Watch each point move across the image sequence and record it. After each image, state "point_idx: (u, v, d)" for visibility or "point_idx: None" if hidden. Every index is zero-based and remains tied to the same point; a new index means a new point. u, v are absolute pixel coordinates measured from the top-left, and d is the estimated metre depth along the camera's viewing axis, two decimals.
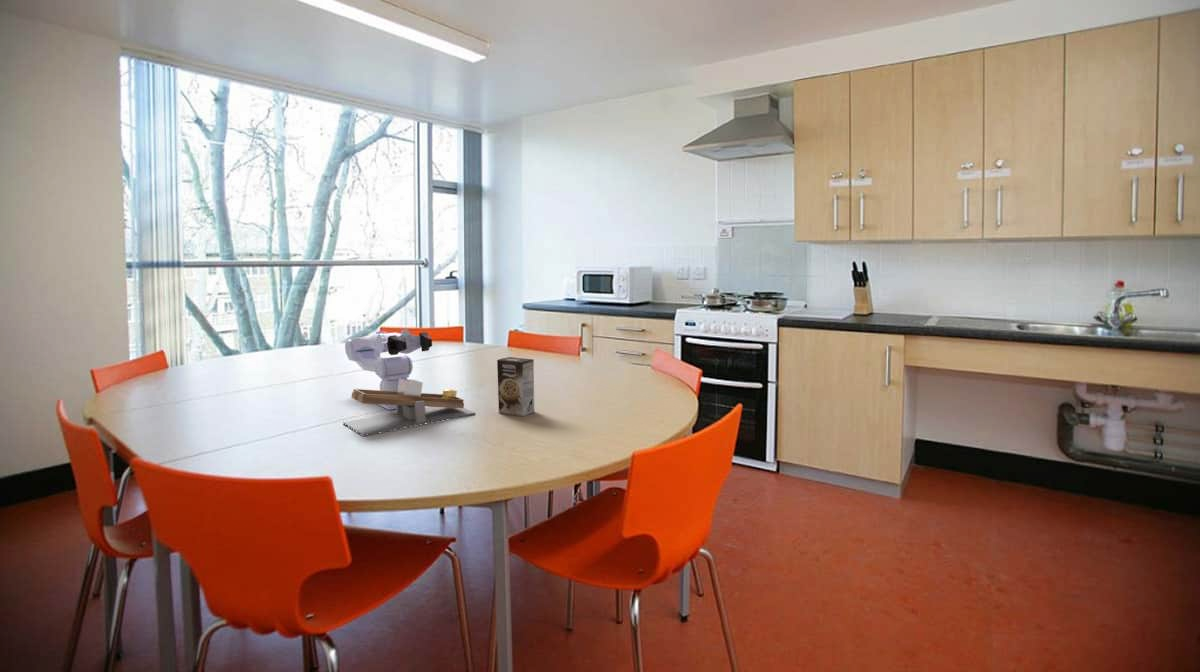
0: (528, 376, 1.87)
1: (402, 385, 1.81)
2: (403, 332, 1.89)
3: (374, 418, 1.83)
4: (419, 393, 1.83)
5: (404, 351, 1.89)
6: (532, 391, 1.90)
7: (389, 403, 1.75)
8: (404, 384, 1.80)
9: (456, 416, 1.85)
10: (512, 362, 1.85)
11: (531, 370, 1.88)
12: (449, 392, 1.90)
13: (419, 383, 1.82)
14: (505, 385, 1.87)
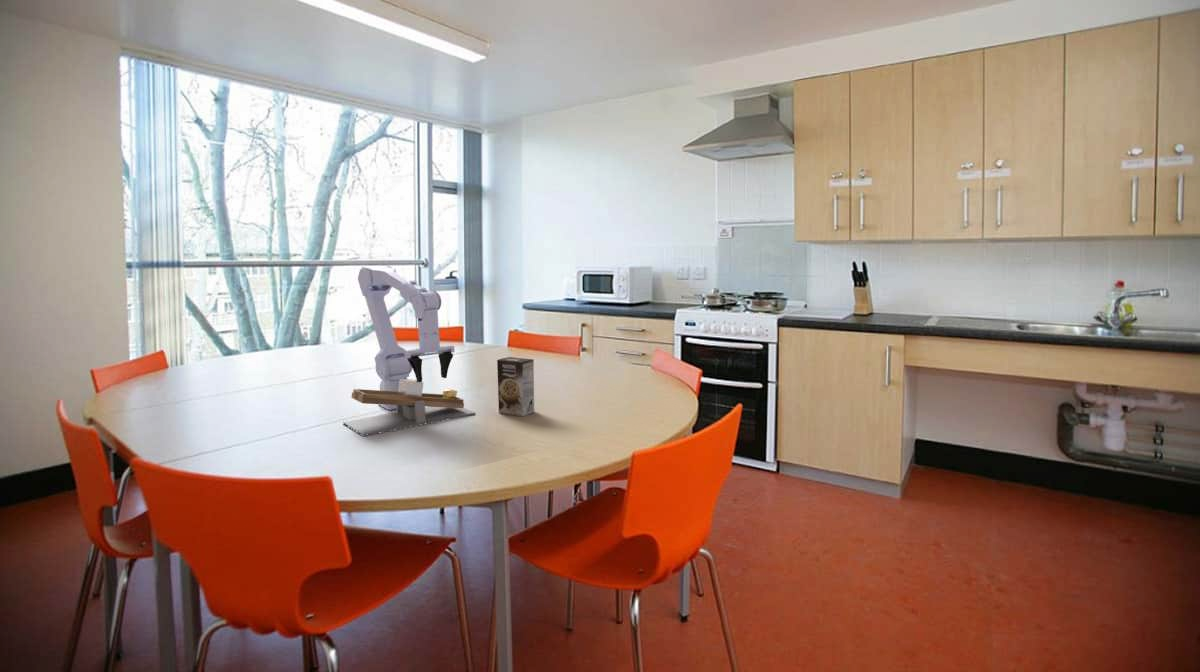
0: (528, 376, 1.87)
1: (403, 385, 1.82)
2: (433, 351, 1.83)
3: (374, 418, 1.83)
4: (420, 393, 1.83)
5: None
6: (532, 391, 1.90)
7: (389, 403, 1.75)
8: (405, 384, 1.81)
9: (456, 416, 1.85)
10: (512, 362, 1.85)
11: (531, 370, 1.88)
12: (449, 392, 1.90)
13: (420, 383, 1.83)
14: (505, 385, 1.87)
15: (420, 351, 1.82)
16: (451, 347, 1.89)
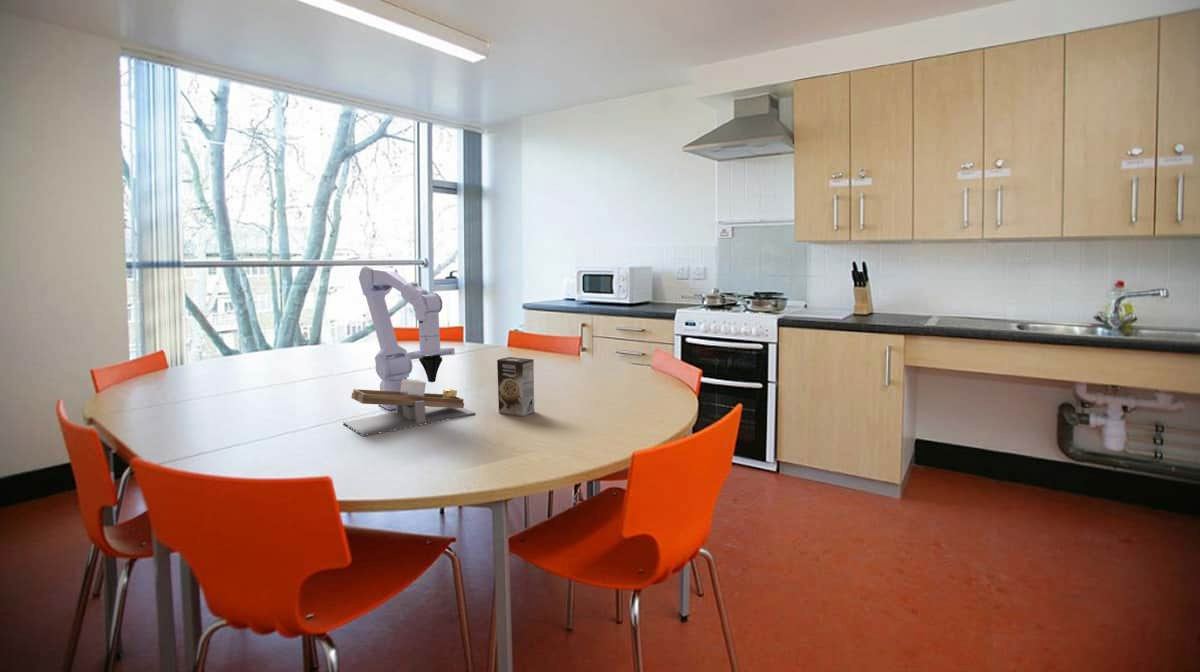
0: (528, 376, 1.87)
1: (406, 385, 1.82)
2: None
3: (374, 418, 1.83)
4: (422, 393, 1.84)
5: None
6: (532, 391, 1.90)
7: (389, 403, 1.75)
8: (408, 385, 1.81)
9: (456, 416, 1.85)
10: (512, 362, 1.85)
11: (531, 370, 1.88)
12: (449, 392, 1.90)
13: (422, 383, 1.84)
14: (505, 385, 1.87)
15: (420, 353, 1.83)
16: (451, 349, 1.89)
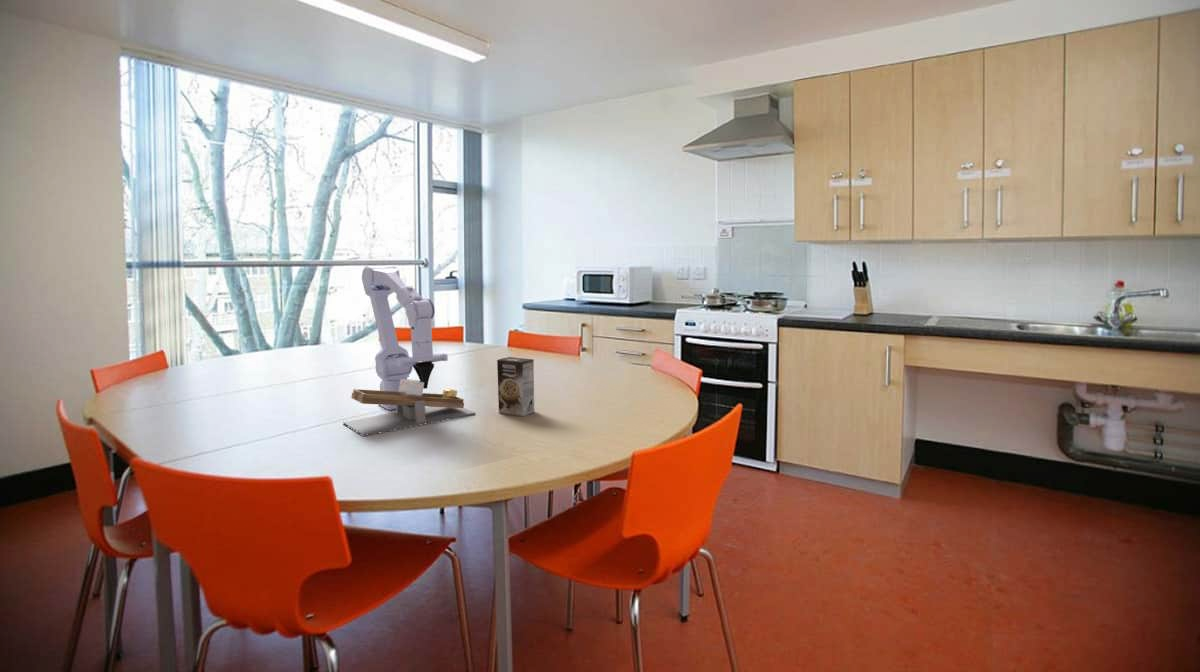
0: (528, 376, 1.87)
1: (404, 385, 1.82)
2: (425, 360, 1.82)
3: (374, 418, 1.83)
4: (420, 393, 1.83)
5: None
6: (532, 391, 1.90)
7: (389, 403, 1.75)
8: (406, 384, 1.81)
9: (456, 416, 1.85)
10: (512, 362, 1.85)
11: (531, 370, 1.88)
12: (449, 392, 1.90)
13: (420, 383, 1.83)
14: (505, 385, 1.87)
15: (413, 360, 1.81)
16: (444, 355, 1.88)
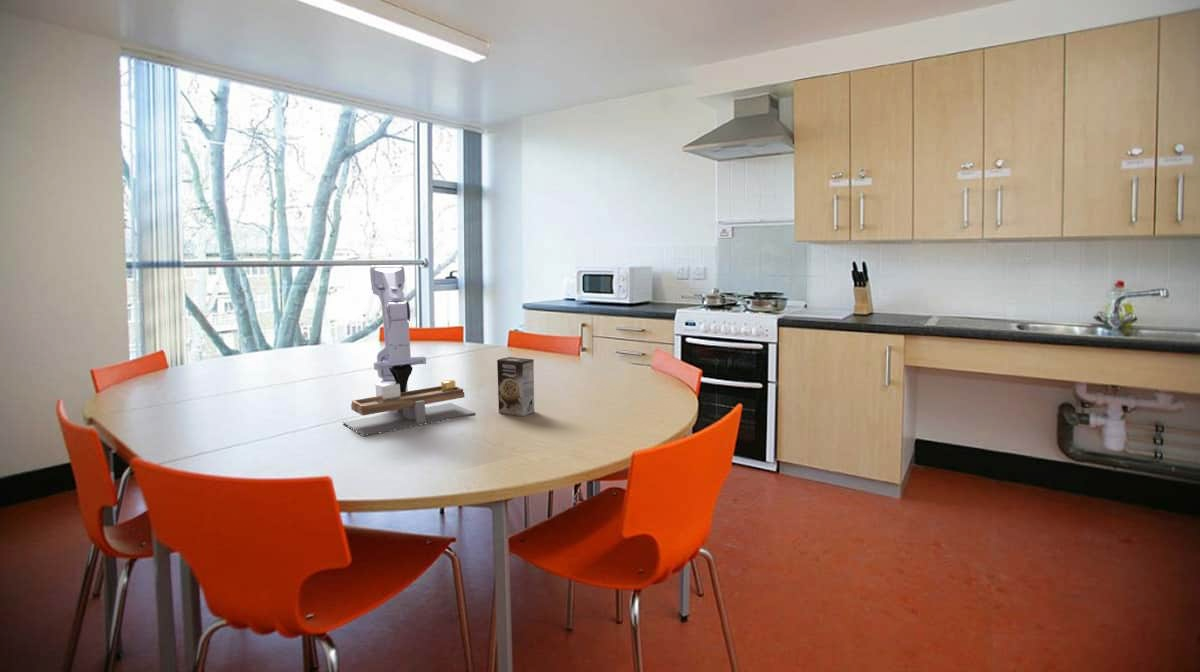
0: (528, 376, 1.87)
1: (380, 391, 1.78)
2: (403, 363, 1.78)
3: (374, 418, 1.83)
4: (398, 395, 1.79)
5: None
6: (532, 391, 1.90)
7: (389, 409, 1.76)
8: (381, 390, 1.77)
9: (456, 416, 1.85)
10: (512, 362, 1.85)
11: (531, 370, 1.88)
12: (447, 384, 1.89)
13: (396, 385, 1.79)
14: (505, 385, 1.87)
15: (390, 363, 1.77)
16: (423, 358, 1.84)
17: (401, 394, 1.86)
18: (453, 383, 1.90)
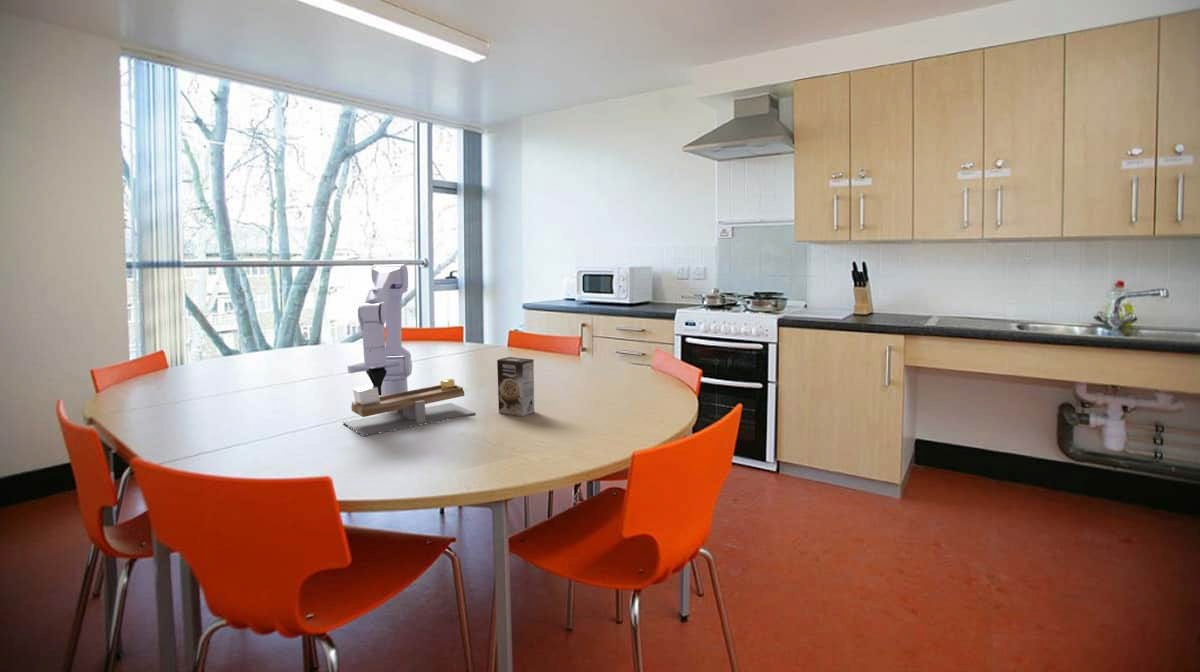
0: (528, 376, 1.87)
1: (358, 396, 1.74)
2: (378, 366, 1.74)
3: (374, 418, 1.83)
4: (377, 398, 1.76)
5: None
6: (532, 391, 1.90)
7: (389, 410, 1.76)
8: (359, 395, 1.73)
9: (456, 416, 1.85)
10: (512, 362, 1.85)
11: (531, 370, 1.88)
12: (446, 383, 1.89)
13: (374, 388, 1.75)
14: (505, 385, 1.87)
15: (364, 366, 1.73)
16: (399, 361, 1.80)
17: (401, 394, 1.86)
18: (452, 382, 1.90)
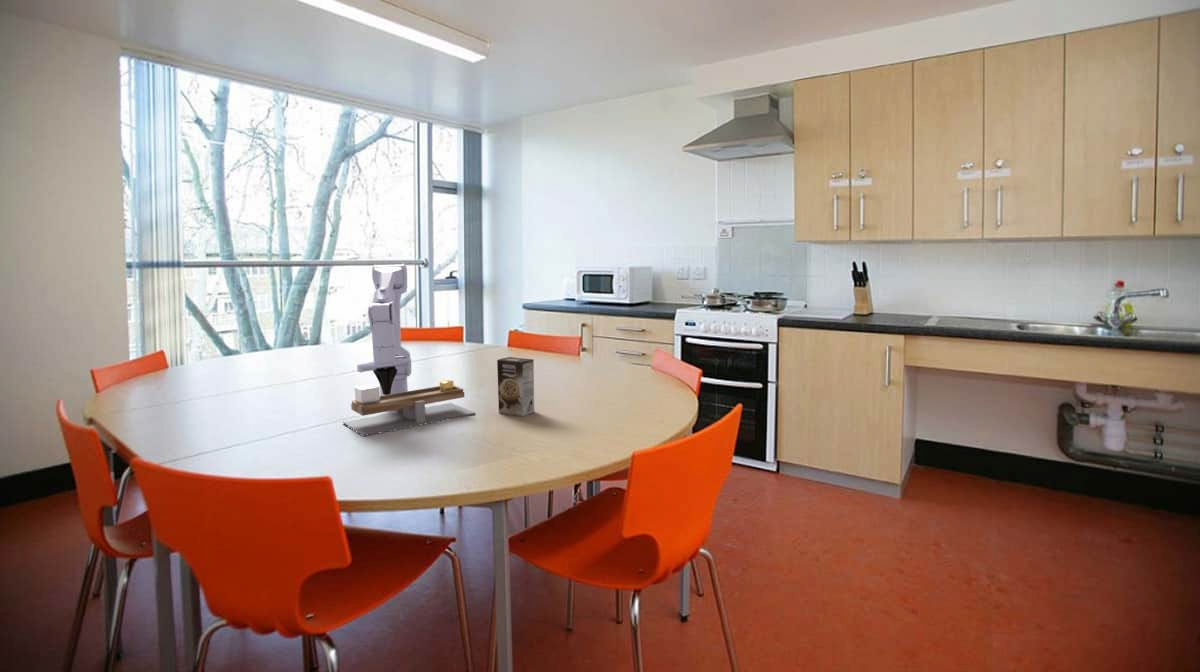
0: (528, 376, 1.87)
1: (359, 394, 1.74)
2: (387, 366, 1.75)
3: (374, 418, 1.83)
4: (378, 398, 1.76)
5: None
6: (532, 391, 1.90)
7: (389, 409, 1.76)
8: (360, 393, 1.73)
9: (456, 416, 1.85)
10: (512, 362, 1.85)
11: (531, 370, 1.88)
12: (446, 384, 1.88)
13: (375, 388, 1.75)
14: (505, 385, 1.87)
15: (373, 365, 1.74)
16: (408, 360, 1.81)
17: (401, 394, 1.86)
18: (451, 383, 1.89)
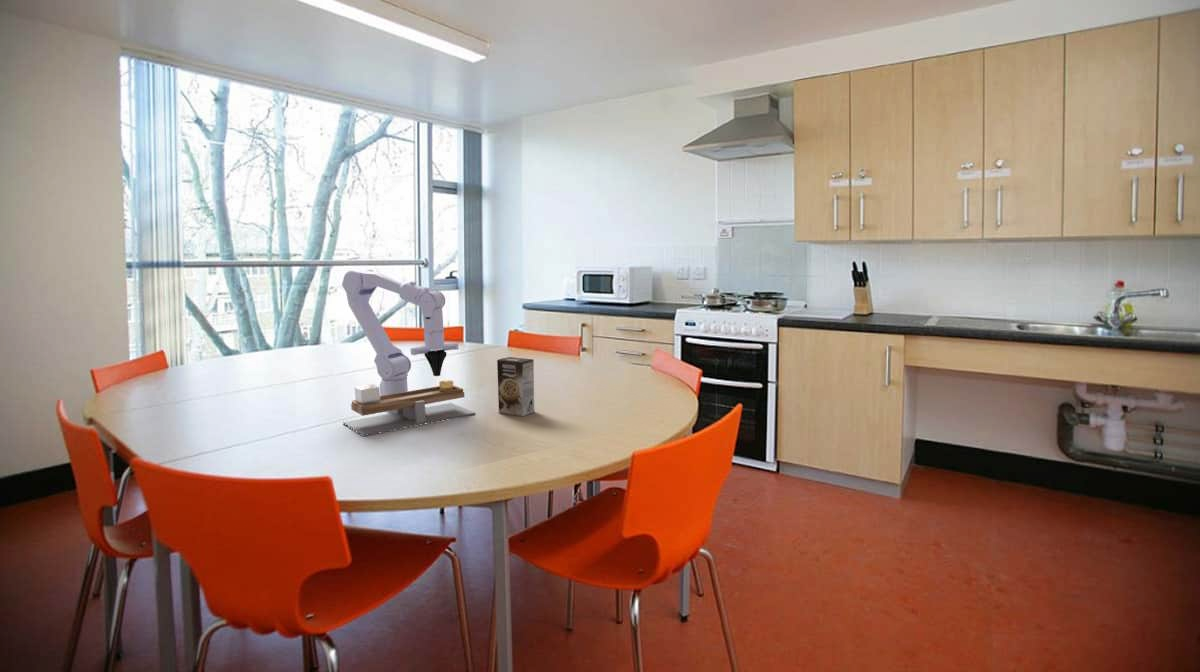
0: (528, 376, 1.87)
1: (359, 394, 1.74)
2: None
3: (374, 418, 1.83)
4: (378, 398, 1.76)
5: None
6: (532, 391, 1.90)
7: (389, 409, 1.76)
8: (360, 393, 1.73)
9: (456, 416, 1.85)
10: (512, 362, 1.85)
11: (531, 370, 1.88)
12: (445, 384, 1.88)
13: (375, 388, 1.75)
14: (505, 385, 1.87)
15: (425, 348, 1.90)
16: (455, 344, 1.96)
17: (401, 394, 1.86)
18: (451, 383, 1.89)
